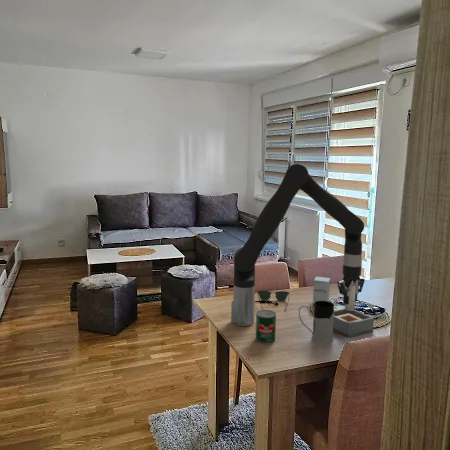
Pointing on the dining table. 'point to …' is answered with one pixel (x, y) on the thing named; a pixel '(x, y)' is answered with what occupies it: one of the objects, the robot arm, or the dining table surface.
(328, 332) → the mug
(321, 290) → the supplement box
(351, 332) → the walled box
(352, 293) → the peg
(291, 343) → the dining table surface
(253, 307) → the robot arm
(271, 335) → the canned tomato
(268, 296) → the sunglasses
